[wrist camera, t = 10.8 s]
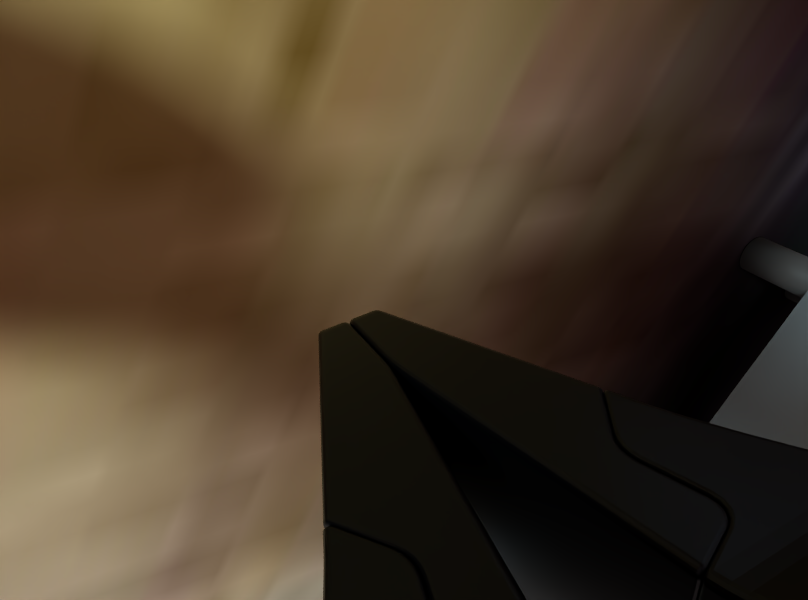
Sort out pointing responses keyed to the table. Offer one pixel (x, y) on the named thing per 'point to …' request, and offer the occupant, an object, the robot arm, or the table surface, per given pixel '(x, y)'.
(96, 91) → the table surface
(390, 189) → the table surface
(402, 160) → the table surface
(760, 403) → the cabinet
